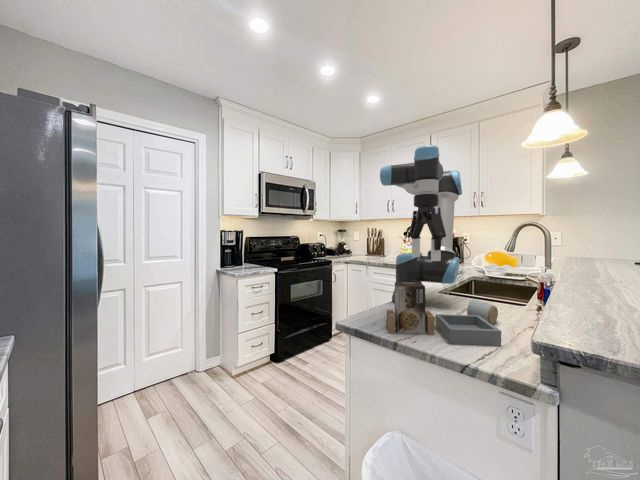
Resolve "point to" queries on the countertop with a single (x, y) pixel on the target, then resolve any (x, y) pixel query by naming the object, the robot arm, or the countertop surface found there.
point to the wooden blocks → (428, 322)
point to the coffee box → (410, 307)
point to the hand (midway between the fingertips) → (425, 259)
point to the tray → (467, 330)
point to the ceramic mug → (483, 310)
